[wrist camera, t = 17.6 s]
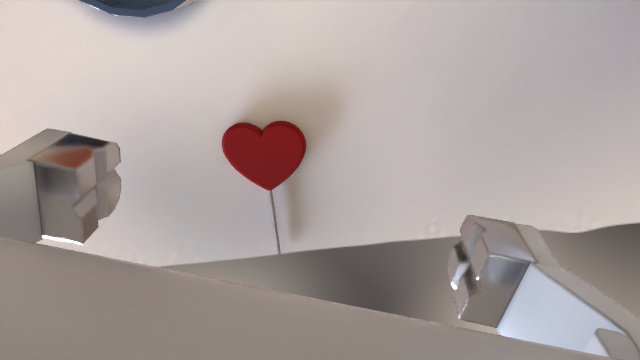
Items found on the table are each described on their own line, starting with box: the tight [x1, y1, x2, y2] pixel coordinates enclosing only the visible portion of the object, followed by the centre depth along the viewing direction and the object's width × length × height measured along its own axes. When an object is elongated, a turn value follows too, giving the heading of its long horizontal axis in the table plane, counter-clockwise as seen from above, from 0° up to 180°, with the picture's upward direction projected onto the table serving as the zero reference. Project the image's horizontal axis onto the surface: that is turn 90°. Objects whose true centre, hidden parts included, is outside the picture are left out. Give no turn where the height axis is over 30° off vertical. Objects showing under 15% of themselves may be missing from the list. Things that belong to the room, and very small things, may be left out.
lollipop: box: [222, 121, 306, 254], centre depth 46 cm, size 8×1×15 cm
